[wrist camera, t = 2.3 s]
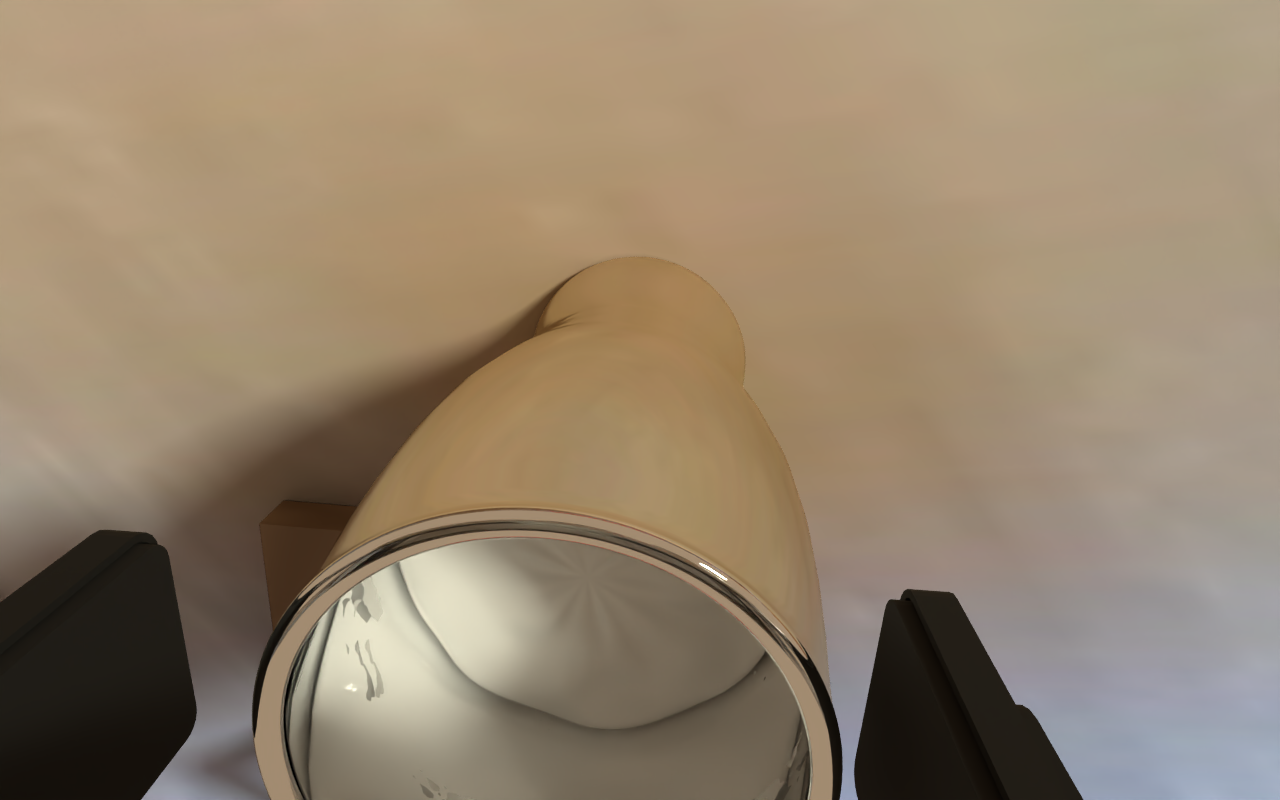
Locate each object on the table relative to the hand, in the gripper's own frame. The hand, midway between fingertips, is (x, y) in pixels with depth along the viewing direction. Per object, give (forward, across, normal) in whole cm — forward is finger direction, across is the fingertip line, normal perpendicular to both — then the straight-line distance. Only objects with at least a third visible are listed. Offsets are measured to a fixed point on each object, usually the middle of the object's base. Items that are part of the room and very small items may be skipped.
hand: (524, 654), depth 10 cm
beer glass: (+13, -1, 0) cm, 13 cm away
